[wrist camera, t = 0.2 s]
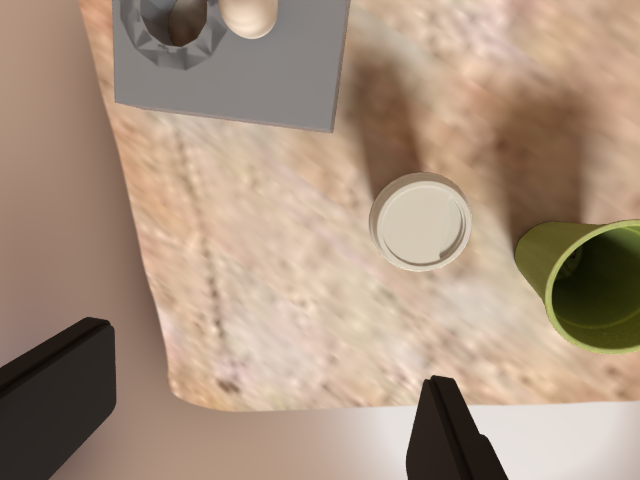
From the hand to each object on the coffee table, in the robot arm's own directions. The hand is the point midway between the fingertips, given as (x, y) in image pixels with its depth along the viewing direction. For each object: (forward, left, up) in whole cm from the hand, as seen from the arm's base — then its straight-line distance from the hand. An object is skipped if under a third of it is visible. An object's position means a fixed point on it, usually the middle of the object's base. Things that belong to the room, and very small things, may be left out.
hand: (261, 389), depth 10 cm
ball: (-18, -9, -23) cm, 31 cm away
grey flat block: (-18, -12, -31) cm, 38 cm away
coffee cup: (-2, +8, -31) cm, 32 cm away
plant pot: (+1, +25, -31) cm, 40 cm away
